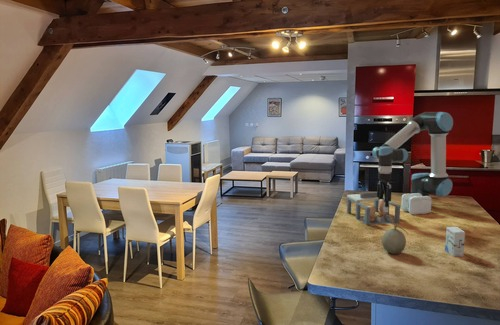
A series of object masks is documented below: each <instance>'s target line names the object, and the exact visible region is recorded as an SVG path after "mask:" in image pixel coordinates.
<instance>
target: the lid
mask: <svg viewBox="0 0 500 325" xmlns="http://www.w3.org/2000/svg"><path fill="white" fill-rule="evenodd" d="M347 197H349V198H351V199H353V200H355V201H356V202H371V201H372V202H374V201H376V200H379V198H378V197H377V191H371V192H369V191H368V192H360V193H359V194H358V193H356V194H346V198H347ZM383 197H384V196H383Z"/></svg>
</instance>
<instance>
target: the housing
mask: <svg viewBox="0 0 500 325" xmlns="http://www.w3.org/2000/svg"><path fill="white" fill-rule="evenodd" d="M352 203H354V204H355V219H356V220H357V221H359V222H360V223H362V224H364V225H366V226H372V225H373V226H374V225H375V226H376V225H384V224H385V225H387V224H388V225H389V224H392V223H391V222H393V223H394V224H400V222H401V221H400V220H401V219H400V218H401V215H400V214H401V204H398V203H395V202H394V201H392V200H391V201H389V204H388V212H387V215H383V216H378V215H377V214H375V222H370V207H368V206H369V205H366V204H364V203H362V201H360V202H356V201H355V200H353V199H351V198H349V197H347V196H346V214H348V215H351V214H352ZM373 203H374V204H373V206H375V213H379V200H376V201H373ZM391 205H392V206H393V207H394V219H393V217H392V216H391V215H390V206H391ZM361 208H363V209H364V216H362V217H361ZM387 219H388V220H390V221H391V222H390V221H388V220H387Z"/></svg>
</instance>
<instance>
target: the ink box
mask: <svg viewBox="0 0 500 325" xmlns="http://www.w3.org/2000/svg"><path fill="white" fill-rule="evenodd" d="M465 238H466V232H465V231H464V230H462V229H461V228H460V227H458V226H447V227H446V233H445V246H444V251H446V252H447V253H448V254H450V255H451V257H464V254H465V252H464V250H465Z"/></svg>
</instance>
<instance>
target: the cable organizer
mask: <svg viewBox="0 0 500 325" xmlns="http://www.w3.org/2000/svg"><path fill="white" fill-rule="evenodd" d="M431 203H432V197H431V196H430V195H429V196H422V194H420V193H412V194H411V193H404V194H402V195H401V204H400V210H402V211H404V212H408V213H409V214H411V215H413V216H415V215H419V214H421V215H425V214H429V213H431V211H432V207H431Z"/></svg>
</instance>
